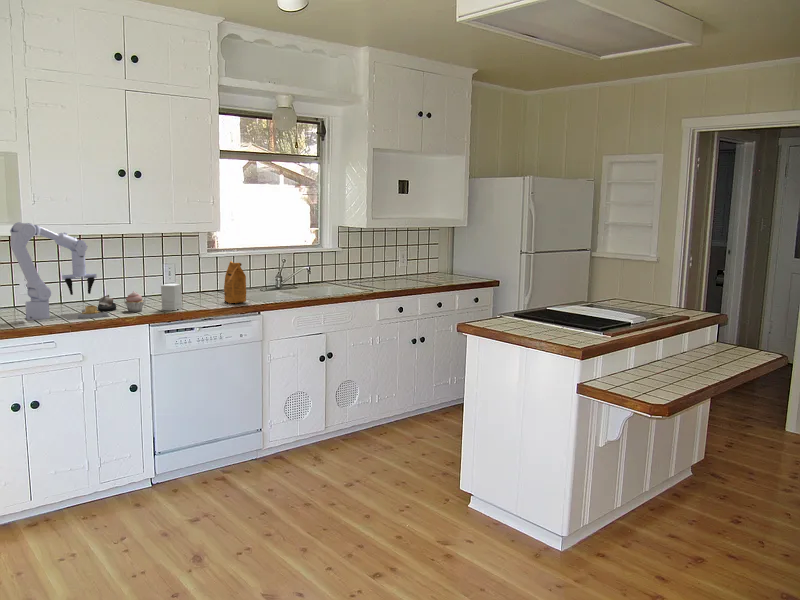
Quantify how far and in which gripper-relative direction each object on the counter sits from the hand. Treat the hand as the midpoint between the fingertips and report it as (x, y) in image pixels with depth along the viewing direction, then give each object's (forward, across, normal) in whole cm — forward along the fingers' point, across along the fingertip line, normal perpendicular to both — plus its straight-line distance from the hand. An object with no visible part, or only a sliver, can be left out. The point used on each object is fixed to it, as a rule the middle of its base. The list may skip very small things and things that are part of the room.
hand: (80, 294), depth 320 cm
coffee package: (+10, +77, +2) cm, 78 cm away
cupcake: (+10, +24, -1) cm, 26 cm away
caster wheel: (+10, +13, +4) cm, 17 cm away
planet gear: (+9, +2, -12) cm, 15 cm away
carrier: (+10, 0, -9) cm, 14 cm away
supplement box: (+10, +41, -5) cm, 43 cm away
